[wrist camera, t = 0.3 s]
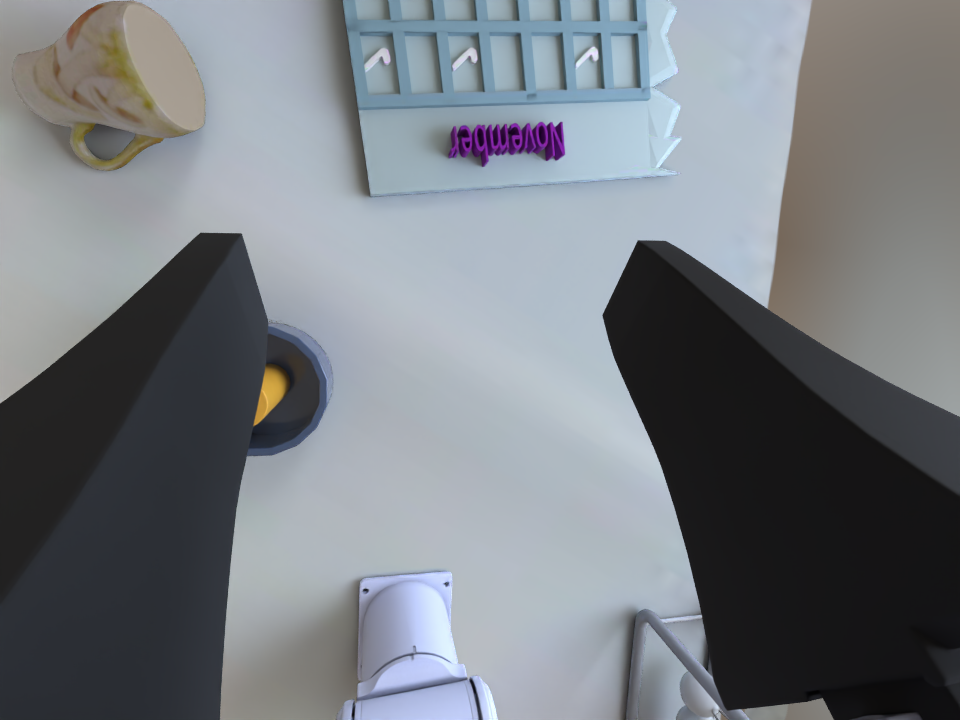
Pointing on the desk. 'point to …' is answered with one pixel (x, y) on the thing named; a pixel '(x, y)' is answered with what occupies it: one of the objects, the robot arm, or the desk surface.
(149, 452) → the robot arm
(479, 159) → the calendar
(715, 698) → the newton's cradle
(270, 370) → the peg
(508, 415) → the desk surface
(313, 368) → the cup
